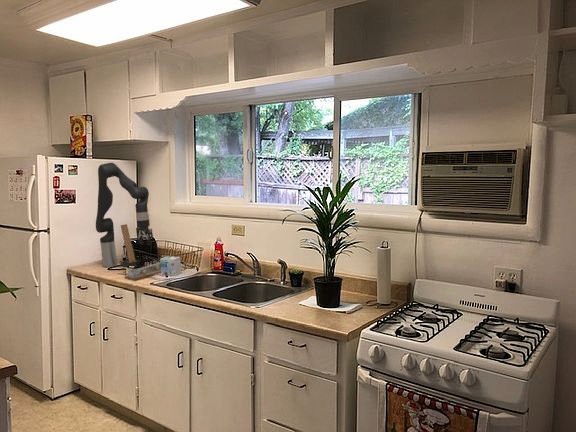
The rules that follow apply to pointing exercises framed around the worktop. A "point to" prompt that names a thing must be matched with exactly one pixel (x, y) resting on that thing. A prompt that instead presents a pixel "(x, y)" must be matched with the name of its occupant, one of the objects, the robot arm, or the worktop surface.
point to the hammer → (129, 250)
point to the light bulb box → (170, 266)
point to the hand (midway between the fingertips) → (145, 244)
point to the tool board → (144, 275)
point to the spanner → (140, 271)
